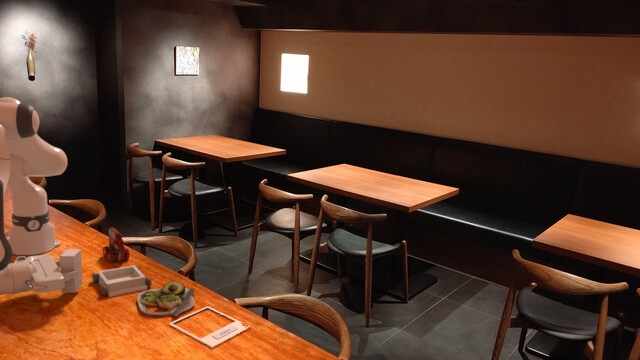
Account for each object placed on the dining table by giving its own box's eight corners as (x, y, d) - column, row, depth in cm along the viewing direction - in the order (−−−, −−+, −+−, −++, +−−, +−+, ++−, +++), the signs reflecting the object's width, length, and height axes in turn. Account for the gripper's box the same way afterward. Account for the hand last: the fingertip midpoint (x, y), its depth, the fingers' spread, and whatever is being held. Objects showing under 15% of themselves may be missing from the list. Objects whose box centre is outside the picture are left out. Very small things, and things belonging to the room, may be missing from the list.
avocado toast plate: (203, 317, 151) (204, 303, 150) (140, 325, 143) (140, 310, 142) (192, 289, 168) (192, 276, 167) (135, 295, 161) (135, 282, 160)
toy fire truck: (112, 265, 181) (111, 238, 178) (101, 254, 190) (100, 227, 187) (131, 262, 185) (131, 235, 183) (120, 251, 194) (119, 225, 192)
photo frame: (212, 346, 134) (168, 322, 144) (212, 350, 134) (168, 326, 144) (250, 325, 146) (207, 305, 156) (250, 329, 146) (207, 308, 156)
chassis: (91, 280, 168) (91, 270, 167) (136, 271, 177) (136, 262, 176) (104, 298, 157) (104, 287, 156) (151, 288, 165) (151, 278, 165)
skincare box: (68, 284, 160) (67, 248, 158) (82, 284, 161) (81, 249, 158) (60, 292, 154) (59, 255, 152) (75, 293, 155) (74, 256, 152)
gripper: (28, 280, 140) (82, 271, 148) (17, 254, 155) (66, 247, 164) (29, 301, 141) (82, 290, 150) (18, 273, 157) (67, 265, 165)
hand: (74, 268), depth 157 cm, fingers closed on skincare box, 7 cm apart
